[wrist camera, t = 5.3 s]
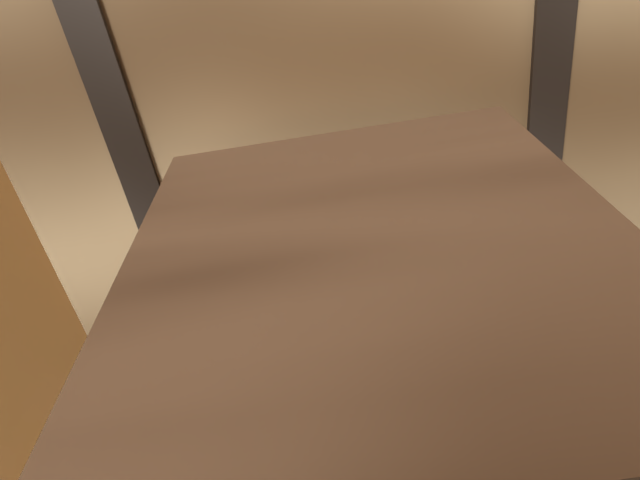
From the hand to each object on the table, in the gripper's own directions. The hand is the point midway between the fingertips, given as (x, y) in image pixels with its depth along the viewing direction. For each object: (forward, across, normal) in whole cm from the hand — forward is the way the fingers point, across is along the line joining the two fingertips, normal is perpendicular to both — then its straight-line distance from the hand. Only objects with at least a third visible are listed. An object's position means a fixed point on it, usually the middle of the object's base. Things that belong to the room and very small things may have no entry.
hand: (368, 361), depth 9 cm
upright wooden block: (+1, 0, 0) cm, 1 cm away
